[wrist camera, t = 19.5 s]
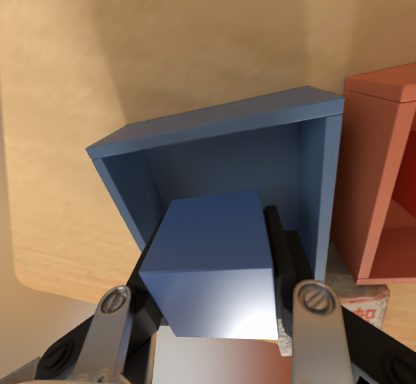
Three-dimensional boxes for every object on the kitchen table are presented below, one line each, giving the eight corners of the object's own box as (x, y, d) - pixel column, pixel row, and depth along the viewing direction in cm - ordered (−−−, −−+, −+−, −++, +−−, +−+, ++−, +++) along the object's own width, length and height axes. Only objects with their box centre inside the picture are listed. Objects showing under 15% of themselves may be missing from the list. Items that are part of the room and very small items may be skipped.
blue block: (171, 199, 11) (137, 273, 7) (259, 188, 10) (273, 266, 6) (193, 257, 13) (175, 337, 9) (265, 253, 12) (279, 340, 8)
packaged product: (253, 300, 14) (436, 288, 11) (249, 246, 18) (382, 227, 15) (286, 392, 22) (393, 397, 20) (278, 341, 26) (366, 340, 24)
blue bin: (126, 124, 14) (84, 148, 10) (308, 85, 11) (345, 96, 7) (176, 245, 19) (161, 290, 15) (304, 235, 17) (324, 285, 13)
